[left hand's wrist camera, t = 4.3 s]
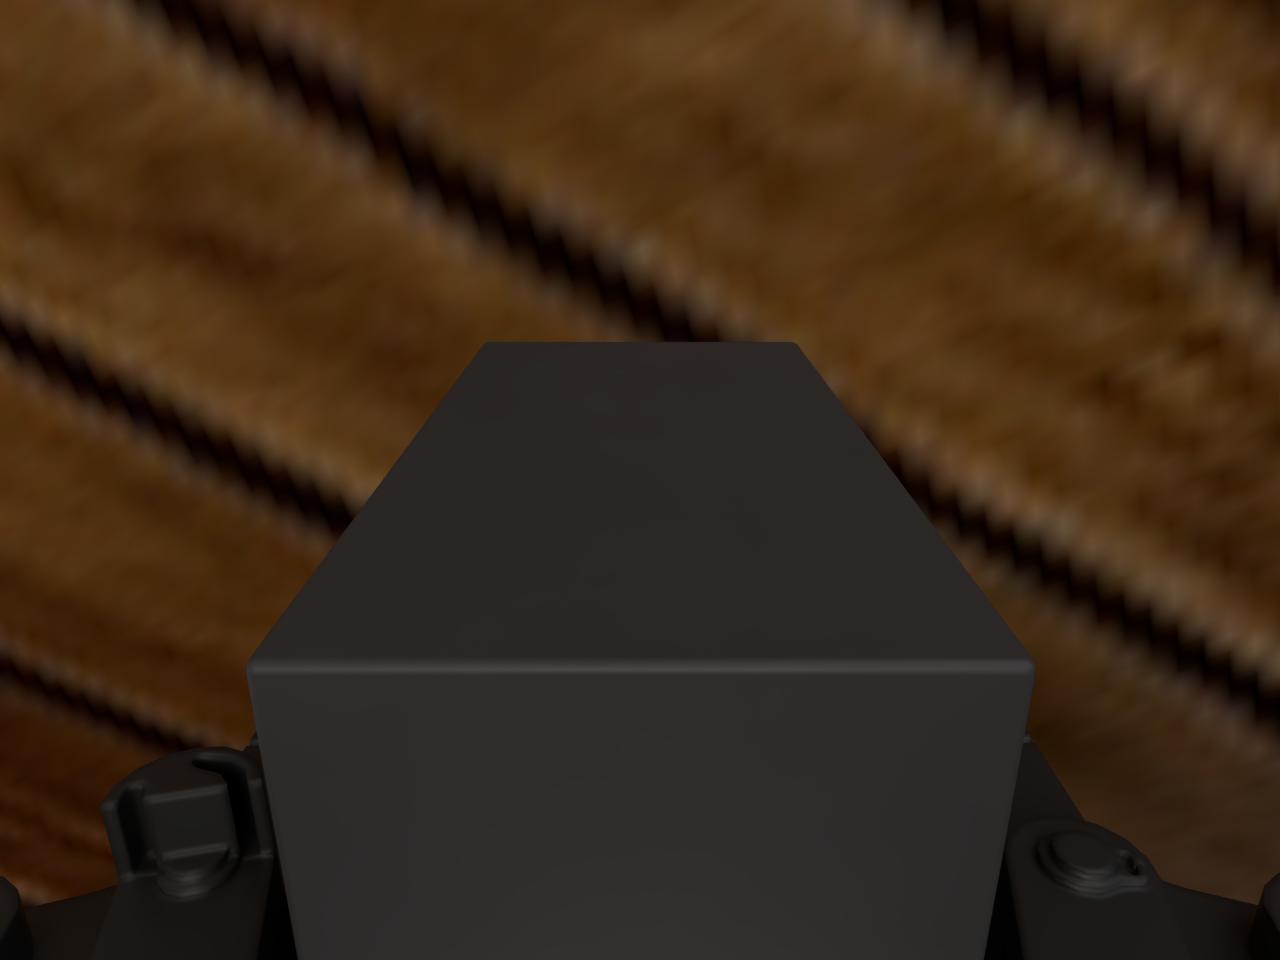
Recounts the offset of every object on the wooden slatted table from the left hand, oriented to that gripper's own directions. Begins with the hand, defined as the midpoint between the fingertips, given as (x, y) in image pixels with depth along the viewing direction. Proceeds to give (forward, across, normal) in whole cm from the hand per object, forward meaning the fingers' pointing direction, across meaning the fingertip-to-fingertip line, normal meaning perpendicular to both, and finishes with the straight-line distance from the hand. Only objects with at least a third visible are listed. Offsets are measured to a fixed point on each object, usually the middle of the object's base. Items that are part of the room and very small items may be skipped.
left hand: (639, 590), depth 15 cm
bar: (+1, 0, -8) cm, 8 cm away
